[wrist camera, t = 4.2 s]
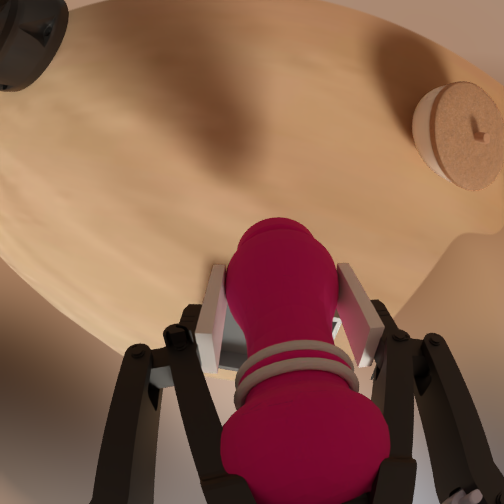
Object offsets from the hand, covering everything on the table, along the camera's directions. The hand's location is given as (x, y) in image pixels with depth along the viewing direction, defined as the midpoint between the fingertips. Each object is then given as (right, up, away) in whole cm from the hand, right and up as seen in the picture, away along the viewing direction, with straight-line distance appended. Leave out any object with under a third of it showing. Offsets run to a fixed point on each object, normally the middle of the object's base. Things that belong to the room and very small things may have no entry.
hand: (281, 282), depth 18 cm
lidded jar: (+19, +16, +7) cm, 26 cm away
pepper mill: (0, +2, +4) cm, 4 cm away
